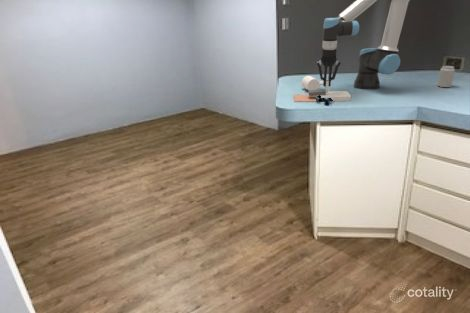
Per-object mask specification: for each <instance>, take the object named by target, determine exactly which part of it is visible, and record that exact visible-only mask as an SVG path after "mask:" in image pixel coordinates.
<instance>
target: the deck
mask: <svg viewBox="0 0 470 313" xmlns="http://www.w3.org/2000/svg"><path fill="white" fill-rule="evenodd" d="M320 96H321V98H331V99H332V100H333V101H332V102H351V99H352V98H351V97H352V96H351V94H350V93H349V92H348V90H342V91H341V90H339V91H338V90H328V93H326V95H320Z"/></svg>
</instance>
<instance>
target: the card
mask: <svg viewBox="0 0 470 313" xmlns="http://www.w3.org/2000/svg"><path fill="white" fill-rule="evenodd" d="M307 91H308V94H307V95H309V96H319V95H326V91H325V88H319V89H316V90H307Z"/></svg>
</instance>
